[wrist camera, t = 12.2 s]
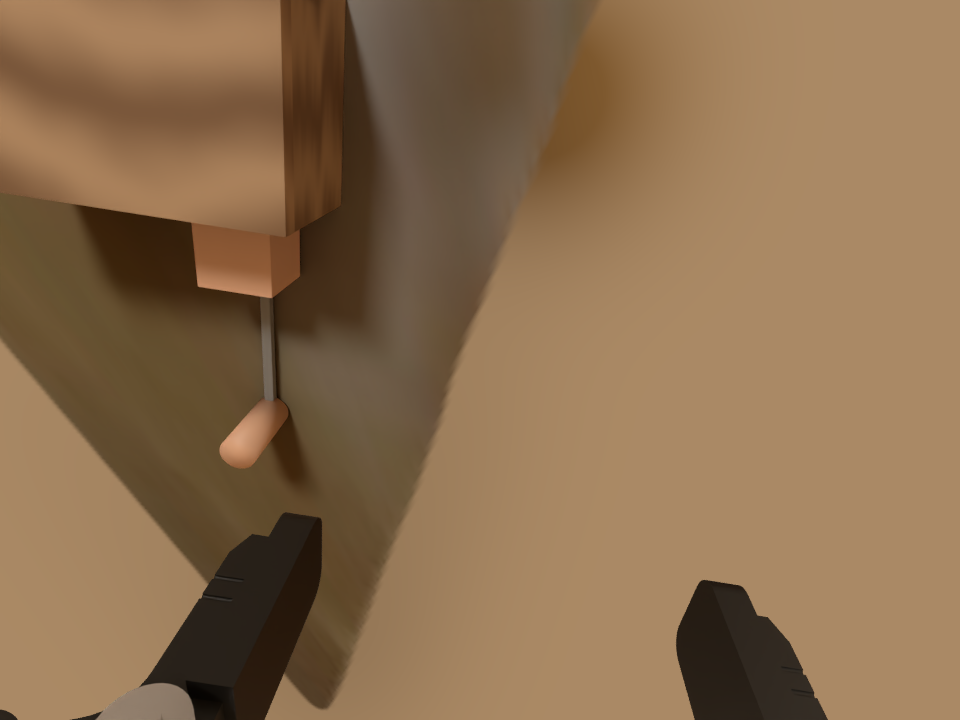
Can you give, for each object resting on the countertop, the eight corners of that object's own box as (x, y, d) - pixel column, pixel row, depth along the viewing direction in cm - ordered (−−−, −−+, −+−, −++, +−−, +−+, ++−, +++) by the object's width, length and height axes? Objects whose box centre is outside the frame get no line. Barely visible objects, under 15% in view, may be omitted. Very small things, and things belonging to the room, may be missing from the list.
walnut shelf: (11, -57, 31) (-181, -118, 22) (345, -5, 31) (279, -46, 22) (56, 160, 36) (-86, 178, 28) (341, 205, 36) (285, 237, 28)
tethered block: (229, 197, 36) (178, 214, 31) (299, 208, 36) (260, 227, 31) (244, 419, 44) (206, 463, 39) (301, 428, 44) (271, 473, 39)
